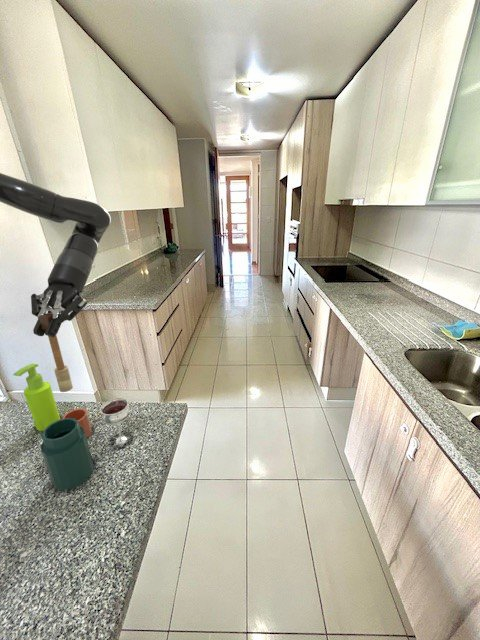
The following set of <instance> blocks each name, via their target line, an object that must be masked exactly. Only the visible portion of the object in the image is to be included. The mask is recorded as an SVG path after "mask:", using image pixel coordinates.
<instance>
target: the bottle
mask: <svg viewBox="0 0 480 640" xmlns="http://www.w3.org/2000/svg"><path fill="white" fill-rule="evenodd" d="M41 440H42V443H41V444H40V451H41V454H42V457H43V460H44V463H45V466H46V469H47V471H48V475H49V477H50V480H51V483H52V486H53V487H54V488H55V489H56V490H58V491H68V490H71V489H75V488H77V487H79V486H80V485H82V484H83V483H84V482H85V481H87V480H88V479H89V477H90V476H91V475H92V473H93V471H94V461H93V458H92V454H91V450H90V446H89V442H88V438H86V434H85V430H84V429H83V428H82V427H80V426H79V422H78V421H77V420H76V419H75V418H65V419H62V418H60V420H58V421H56V422H54V423H52V424H50V425H49V426H48V427H47V428H45V429H44V430H43V431H42V434H41Z"/></svg>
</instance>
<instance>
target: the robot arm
mask: <svg viewBox="0 0 480 640" xmlns="http://www.w3.org/2000/svg"><path fill="white" fill-rule="evenodd" d="M0 203H2V204H4V205H7V206H9V207H12V208H14V209H17V210H19V211H22V212H24V213H26V214H29V215H32V216H34V217H38V218H41V219H43V220H47V221H50V222H52V223H56V224H64V223H65V222H68V221H72V222H75V224H74V227H73V229H72V231H71V235H69V237H68V238H67V241H66V243H65V245H64V247H63V248H62V250H61V252H60V254H59V255H58V257H57V258H56V260H55V263H54V265H53V267H52V269H51V270H50V273H49V275H48V278H47V287H46V288H45V289H44V290H43V293H40V294H36V293H32V294H31V296H30V306H31V314H32V315H33V316H35V317H37V320H36V323H35V325H34V326H33V329H32V331H33V334H34V335H35V336H38V337H44V336H47V337H48V336H49V337H55V335H57V334H58V333H59V330H60V328H61V326H62V324H63V323H64V322H65V321H67V322H71V321H72V320H73V319H74V318H75V317H76V316H77V315H78V314H79V313H80V312H81V311H82V310H83V309H84V308H85V307H86V306H87V305H88V301H87V300H86V299H84V298H83V297H82V296H81V294H82V293H83V292H84V289H85V286H86V285H87V284H86V283H87V281H88V279H89V277H90V274H91V271H92V267H93V264H94V262H95V259H96V257H97V254H98V250H99V244H100V242H101V240H102V237H103V236H104V234H105V232H106V231H107V230H108V228H109V227H110V225H111V221H112V220H111V219H112V218H111V215H110V213H109V212H108V210H107V209H105V208H104V207H102V205H100V204H98V203H95V202H92V201H89V200H85V199H81V198H76V197H70V196H64V195H60V194H59V193H56V192H54V191H51V190H49V189H47V188H44V187H42V186H40V185H36V184H34V183H31V182H29V181H25V180H22V179H19V178H16V177H13V176H11V175H7V174H5V173H3V172H0ZM46 313H47V314H53V316H52V318H53V319H51V320H50V322H49V324H48V326H47V329H46V330H42V327H41V324H40V320H39V316H41V315H44V314H46Z"/></svg>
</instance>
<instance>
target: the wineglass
mask: <svg viewBox="0 0 480 640" xmlns="http://www.w3.org/2000/svg"><path fill="white" fill-rule="evenodd" d="M99 412H100V414H101V415H100V417H101V420H102V421H103V423H104V424H106V425H107V426H113V427H114V426H116V428H117V432H118V436H119V437H118V438H117V439H116V440H115V443H116V444H117V445H123V444H125V443H126V441H127V437H126V436H122V431H121V424H123V423H124V422H126V420H127V419H128V418H129V416H130V413H131V408H130V405H129V400H127V398H124V397H115V398H111V399H108V400H107V401H105V402H104V403H103V404H102V405H101V406H100V407H99Z"/></svg>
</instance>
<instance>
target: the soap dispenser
mask: <svg viewBox="0 0 480 640" xmlns="http://www.w3.org/2000/svg"><path fill="white" fill-rule="evenodd" d="M37 367H39V364H38V363H34V362H33V363H29V364H28V365H25V366H23V367H21V368H19V369H18V370H16V371H15V372H13V374H12V376H16V377H21V376H23V375H24V374H26V373H27V374H28V376H26V378H25V382H26V384H27V387H25V388H24V389H23V393H24V397H25V400H26V403H27V406H28V409H29V412H30V415H31V417H32V420H33V424H34V426H35V429H36V430H37V431H38V432H43V430H44V429H45V428H47V427H48V426H49V425H50V424H52V423H54V422H56V421H58V420H60V419H61V416H60V412H59V409H58V405H57V403H56V399H55V396H54V392H53V389H52V386H51V383H50V382H49V381H45V380H44V379H43V376H42V375H43V374H41V373H38V372H37V369H36V368H37Z"/></svg>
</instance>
